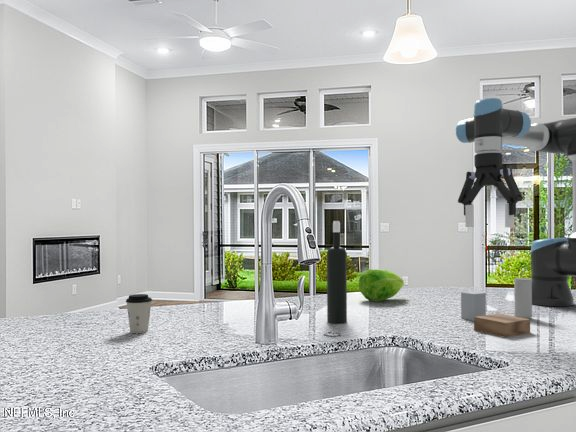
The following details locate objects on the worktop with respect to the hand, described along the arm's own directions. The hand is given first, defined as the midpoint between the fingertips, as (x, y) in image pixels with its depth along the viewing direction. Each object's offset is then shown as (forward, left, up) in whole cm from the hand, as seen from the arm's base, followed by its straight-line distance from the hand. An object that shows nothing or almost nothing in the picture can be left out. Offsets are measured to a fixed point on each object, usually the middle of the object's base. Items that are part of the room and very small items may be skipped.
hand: (488, 227), depth 148 cm
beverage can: (-17, -1, -28) cm, 33 cm away
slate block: (-3, -8, -28) cm, 29 cm away
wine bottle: (+35, -26, -28) cm, 52 cm away
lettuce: (-4, -50, -28) cm, 58 cm away
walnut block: (+5, +8, -28) cm, 30 cm away
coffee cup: (+89, -43, -28) cm, 103 cm away
